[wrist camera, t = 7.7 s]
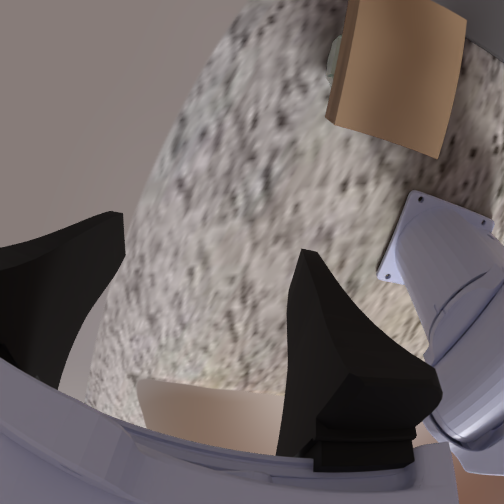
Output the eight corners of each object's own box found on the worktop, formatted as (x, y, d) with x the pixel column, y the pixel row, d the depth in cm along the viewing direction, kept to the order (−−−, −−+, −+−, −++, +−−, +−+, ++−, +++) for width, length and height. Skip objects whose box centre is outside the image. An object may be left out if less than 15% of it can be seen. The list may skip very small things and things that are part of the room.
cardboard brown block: (437, 27, 10) (466, 19, 8) (412, 144, 15) (437, 159, 12) (349, -7, 11) (364, -27, 8) (325, 117, 15) (334, 124, 12)
